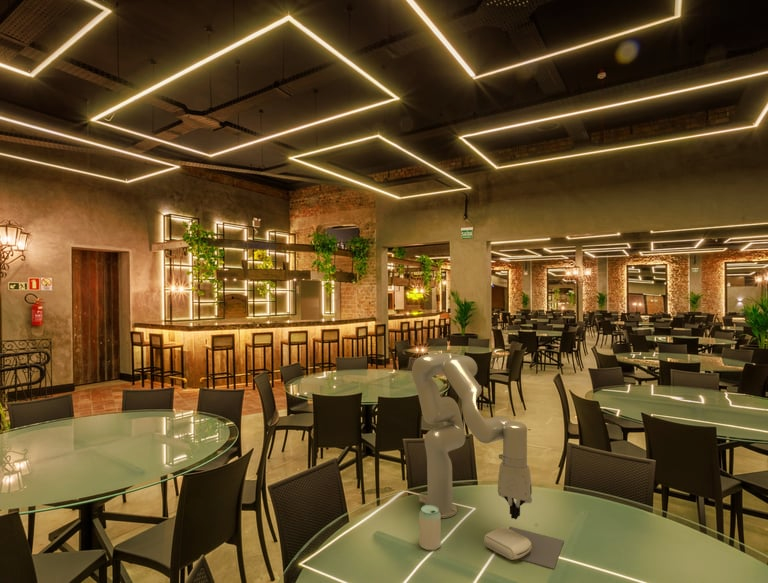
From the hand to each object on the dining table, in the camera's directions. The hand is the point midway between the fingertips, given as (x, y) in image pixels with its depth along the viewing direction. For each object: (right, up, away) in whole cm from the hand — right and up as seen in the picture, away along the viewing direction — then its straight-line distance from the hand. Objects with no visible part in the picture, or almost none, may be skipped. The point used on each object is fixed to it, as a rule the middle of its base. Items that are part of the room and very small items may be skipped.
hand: (514, 517), depth 142 cm
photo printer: (-6, -7, +3) cm, 10 cm away
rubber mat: (+5, -10, 0) cm, 11 cm away
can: (-28, -10, +1) cm, 30 cm away
